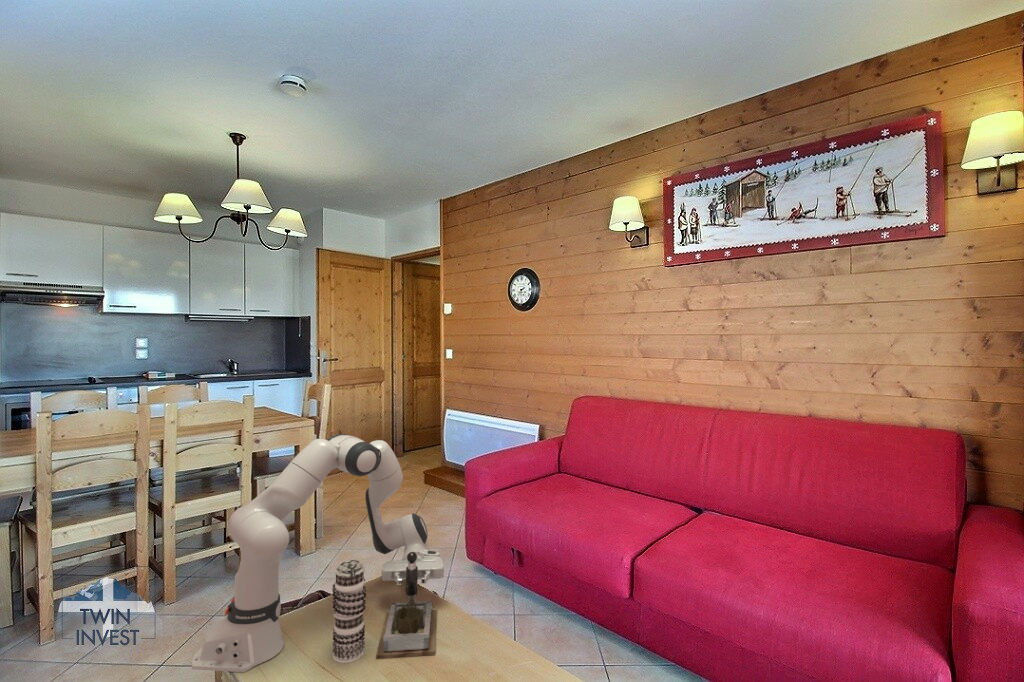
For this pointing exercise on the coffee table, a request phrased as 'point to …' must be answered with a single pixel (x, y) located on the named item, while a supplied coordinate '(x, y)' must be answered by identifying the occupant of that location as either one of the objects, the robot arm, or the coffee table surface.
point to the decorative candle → (349, 612)
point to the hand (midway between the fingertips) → (411, 581)
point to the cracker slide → (410, 639)
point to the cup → (408, 619)
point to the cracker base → (410, 653)
